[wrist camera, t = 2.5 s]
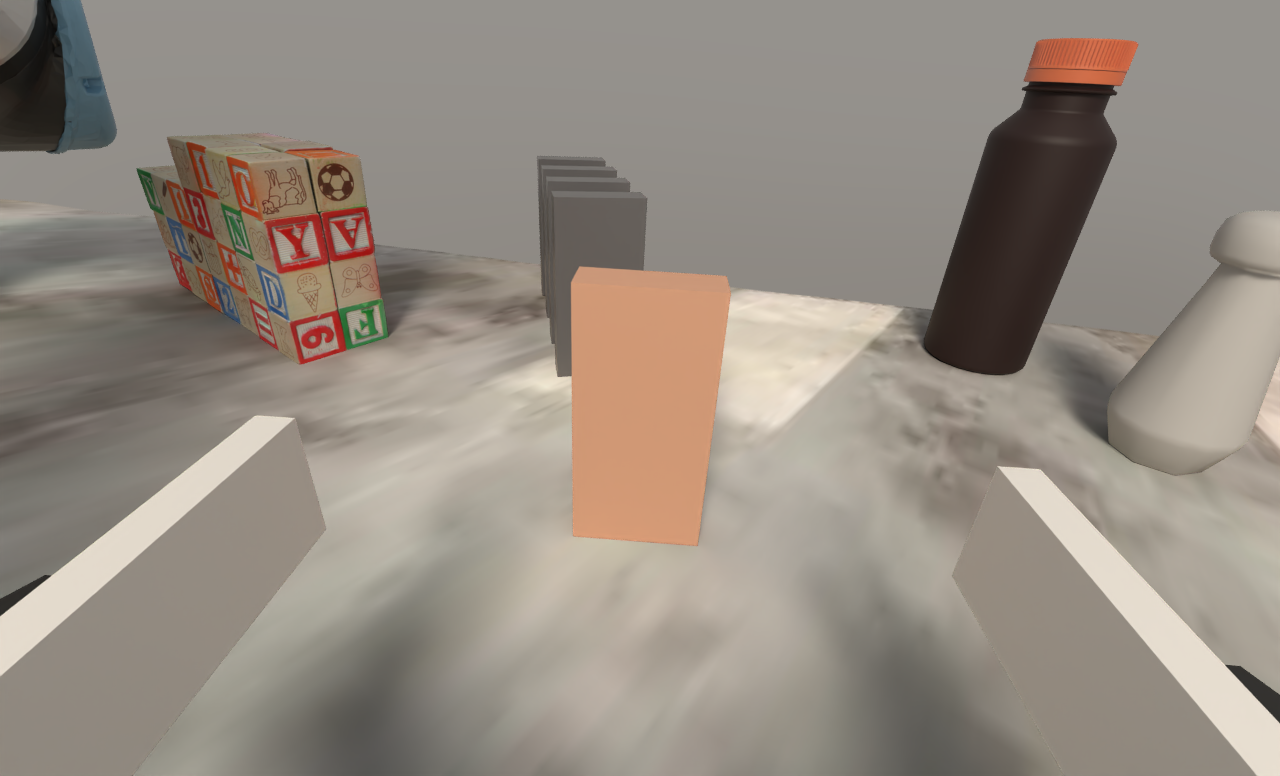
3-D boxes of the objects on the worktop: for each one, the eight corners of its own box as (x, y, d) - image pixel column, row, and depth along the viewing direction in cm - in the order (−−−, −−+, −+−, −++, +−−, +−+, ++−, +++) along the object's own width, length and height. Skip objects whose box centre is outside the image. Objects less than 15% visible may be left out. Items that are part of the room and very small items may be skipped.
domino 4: (637, 372, 37) (647, 198, 32) (557, 376, 36) (553, 197, 31) (632, 360, 39) (640, 192, 34) (555, 364, 38) (551, 191, 32)
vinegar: (1007, 386, 38) (1150, 36, 29) (907, 352, 42) (1003, 36, 33) (1035, 359, 42) (1168, 46, 33) (942, 330, 47) (1036, 45, 37)
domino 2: (612, 315, 46) (616, 170, 41) (547, 317, 45) (542, 169, 39) (609, 307, 47) (612, 166, 42) (545, 309, 46) (541, 165, 41)
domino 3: (623, 340, 42) (630, 182, 36) (551, 343, 41) (547, 181, 35) (619, 331, 43) (625, 178, 38) (550, 333, 42) (545, 176, 37)
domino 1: (602, 294, 50) (605, 160, 45) (542, 295, 49) (538, 158, 44) (599, 287, 52) (602, 157, 46) (541, 288, 51) (537, 155, 45)
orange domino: (697, 545, 24) (730, 293, 18) (573, 536, 24) (570, 282, 19) (696, 516, 25) (726, 276, 20) (579, 507, 25) (579, 266, 20)
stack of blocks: (177, 286, 47) (118, 122, 41) (259, 270, 51) (217, 120, 45) (301, 367, 36) (245, 157, 30) (392, 338, 40) (360, 151, 34)
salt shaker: (1142, 483, 29) (1295, 227, 23) (1067, 423, 34) (1176, 199, 28) (1252, 487, 29) (1433, 233, 23) (1161, 427, 34) (1290, 205, 28)
